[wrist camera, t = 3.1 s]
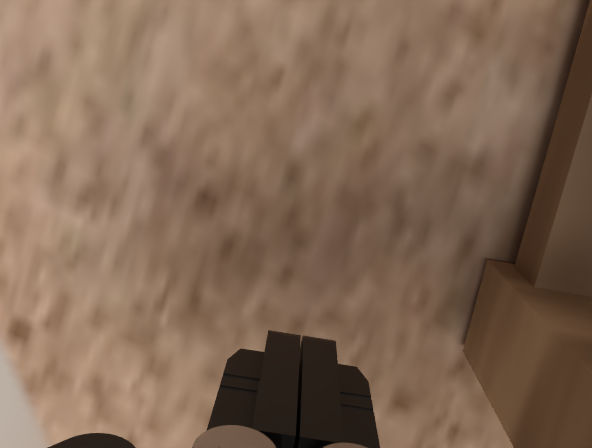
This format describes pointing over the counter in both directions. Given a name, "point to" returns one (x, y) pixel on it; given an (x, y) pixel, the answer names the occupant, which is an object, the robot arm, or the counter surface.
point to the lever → (546, 291)
